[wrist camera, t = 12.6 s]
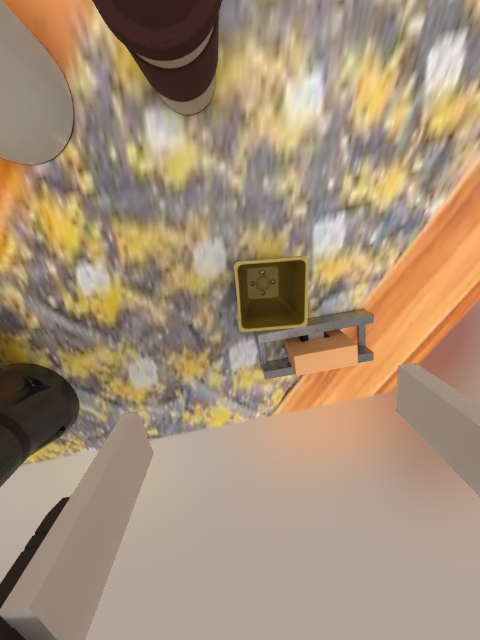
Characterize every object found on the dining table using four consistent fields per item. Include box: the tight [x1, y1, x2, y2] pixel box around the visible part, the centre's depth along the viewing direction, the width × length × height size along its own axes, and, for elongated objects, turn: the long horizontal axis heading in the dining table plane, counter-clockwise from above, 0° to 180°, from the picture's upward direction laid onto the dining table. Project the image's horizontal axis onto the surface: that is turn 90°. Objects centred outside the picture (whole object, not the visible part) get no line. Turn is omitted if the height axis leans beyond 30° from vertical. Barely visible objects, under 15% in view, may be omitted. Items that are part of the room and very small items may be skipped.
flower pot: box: [234, 256, 309, 332], centre depth 32 cm, size 9×9×9 cm
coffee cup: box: [92, 0, 222, 115], centre depth 21 cm, size 10×10×15 cm
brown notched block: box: [284, 329, 358, 376], centre depth 37 cm, size 9×3×7 cm, turn 101°
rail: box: [256, 309, 374, 379], centre depth 39 cm, size 18×8×3 cm, turn 100°
